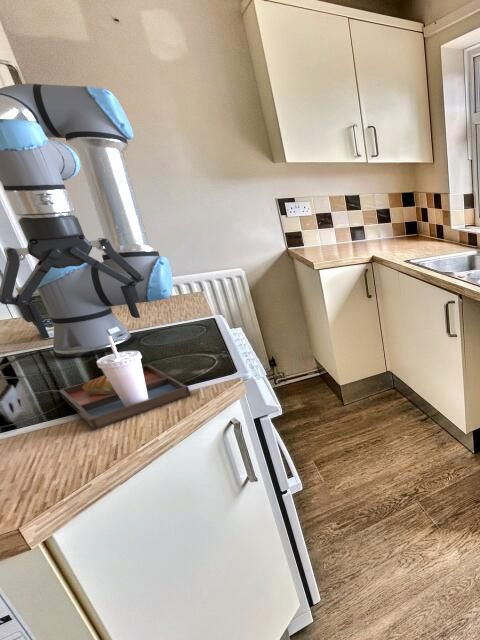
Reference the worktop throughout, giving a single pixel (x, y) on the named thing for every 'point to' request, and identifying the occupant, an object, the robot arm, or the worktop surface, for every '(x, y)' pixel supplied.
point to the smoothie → (125, 374)
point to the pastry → (99, 386)
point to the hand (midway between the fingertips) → (93, 326)
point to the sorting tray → (112, 409)
